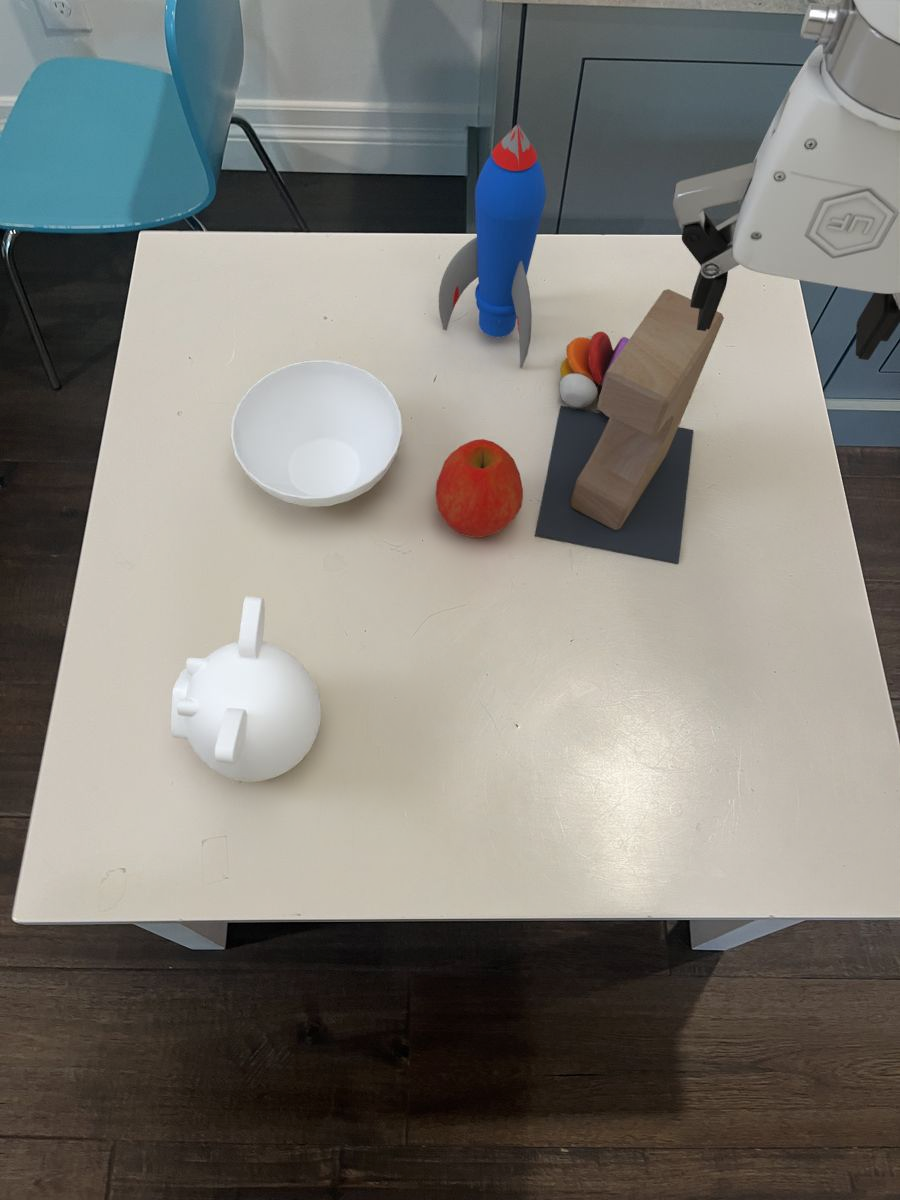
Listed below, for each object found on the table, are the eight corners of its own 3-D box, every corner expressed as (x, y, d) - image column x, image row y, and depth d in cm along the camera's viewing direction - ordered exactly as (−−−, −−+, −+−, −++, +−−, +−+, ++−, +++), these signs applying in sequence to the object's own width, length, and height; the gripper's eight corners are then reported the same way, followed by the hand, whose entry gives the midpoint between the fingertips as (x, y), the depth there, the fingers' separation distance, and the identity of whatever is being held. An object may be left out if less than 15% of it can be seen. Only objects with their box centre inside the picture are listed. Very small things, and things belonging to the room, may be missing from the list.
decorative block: (616, 534, 85) (667, 403, 67) (566, 506, 86) (602, 370, 68) (668, 456, 89) (729, 313, 71) (619, 430, 91) (667, 283, 73)
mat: (692, 432, 91) (693, 429, 91) (677, 564, 84) (679, 562, 84) (560, 407, 92) (560, 405, 92) (534, 536, 85) (535, 534, 85)
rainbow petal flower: (570, 350, 96) (581, 298, 89) (656, 376, 94) (673, 325, 88) (546, 405, 92) (556, 355, 85) (635, 433, 90) (652, 384, 84)
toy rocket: (526, 373, 94) (558, 169, 72) (437, 371, 94) (441, 166, 71) (523, 298, 99) (553, 84, 76) (438, 295, 99) (442, 80, 76)
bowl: (212, 460, 88) (196, 417, 82) (338, 380, 93) (332, 333, 87) (308, 567, 83) (299, 530, 77) (436, 477, 88) (437, 435, 82)
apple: (534, 528, 86) (548, 465, 76) (463, 566, 84) (468, 507, 74) (488, 467, 89) (496, 400, 79) (419, 504, 87) (418, 439, 77)
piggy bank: (184, 684, 78) (133, 613, 64) (315, 657, 79) (292, 582, 66) (199, 821, 73) (147, 775, 59) (338, 790, 74) (319, 739, 61)
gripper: (715, 71, 38) (635, 348, 53) (1133, 135, 36) (926, 401, 52) (730, -27, 41) (650, 261, 56) (1113, 28, 40) (924, 308, 55)
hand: (782, 328), depth 54 cm, fingers open, 9 cm apart
